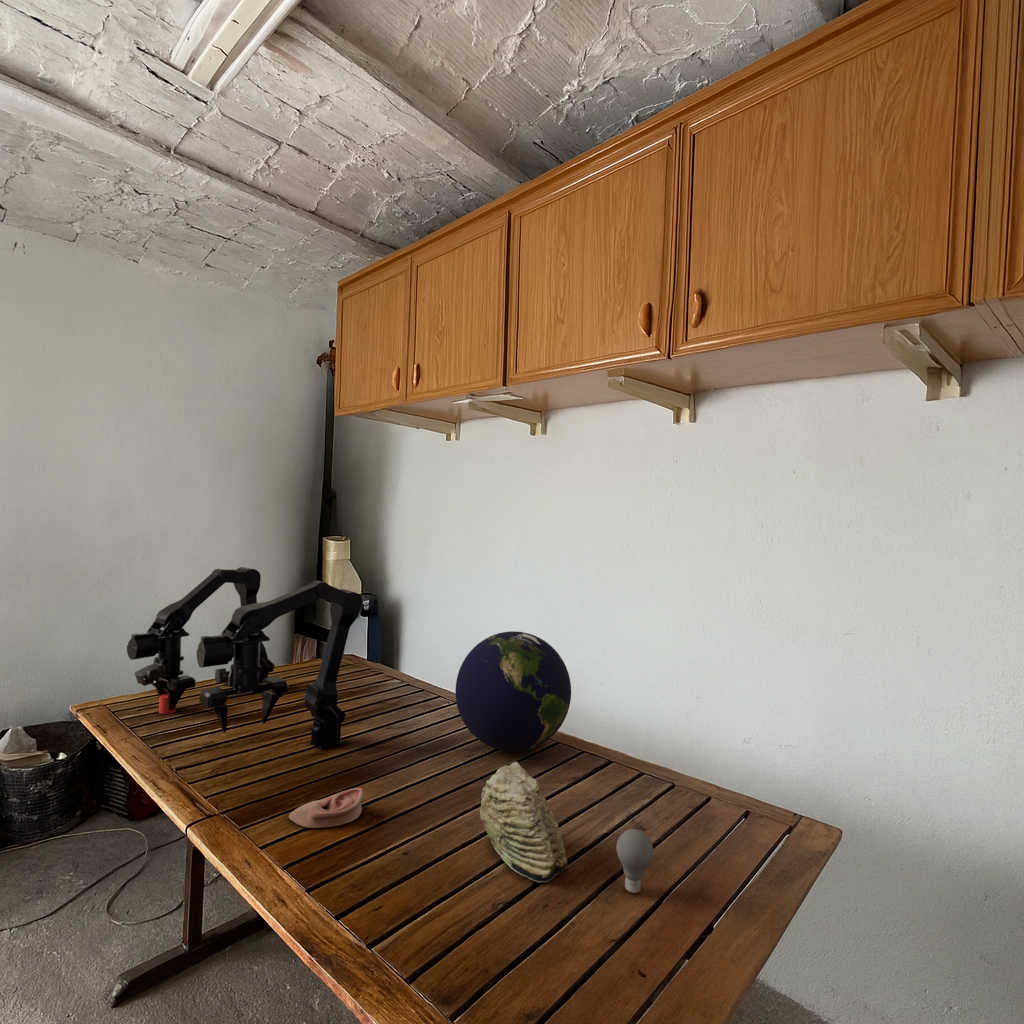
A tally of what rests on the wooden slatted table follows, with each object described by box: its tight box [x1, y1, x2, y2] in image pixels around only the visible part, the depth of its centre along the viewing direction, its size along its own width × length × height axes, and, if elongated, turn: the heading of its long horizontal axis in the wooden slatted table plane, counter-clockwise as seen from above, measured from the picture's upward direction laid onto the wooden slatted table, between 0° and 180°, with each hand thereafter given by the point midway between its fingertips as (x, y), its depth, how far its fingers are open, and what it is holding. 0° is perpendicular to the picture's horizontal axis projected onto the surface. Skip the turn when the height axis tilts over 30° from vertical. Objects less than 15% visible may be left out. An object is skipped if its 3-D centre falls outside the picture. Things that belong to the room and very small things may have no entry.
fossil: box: [479, 761, 569, 883], centre depth 114 cm, size 9×18×15 cm, turn 46°
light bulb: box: [615, 828, 654, 894], centre depth 106 cm, size 6×6×10 cm
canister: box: [158, 694, 177, 715], centre depth 180 cm, size 4×4×4 cm
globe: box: [454, 630, 572, 753], centre depth 164 cm, size 30×30×30 cm
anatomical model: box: [288, 787, 364, 829], centre depth 126 cm, size 13×4×12 cm
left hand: (167, 707), depth 180 cm, fingers closed on canister, 4 cm apart
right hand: (244, 727), depth 148 cm, fingers open, 9 cm apart
